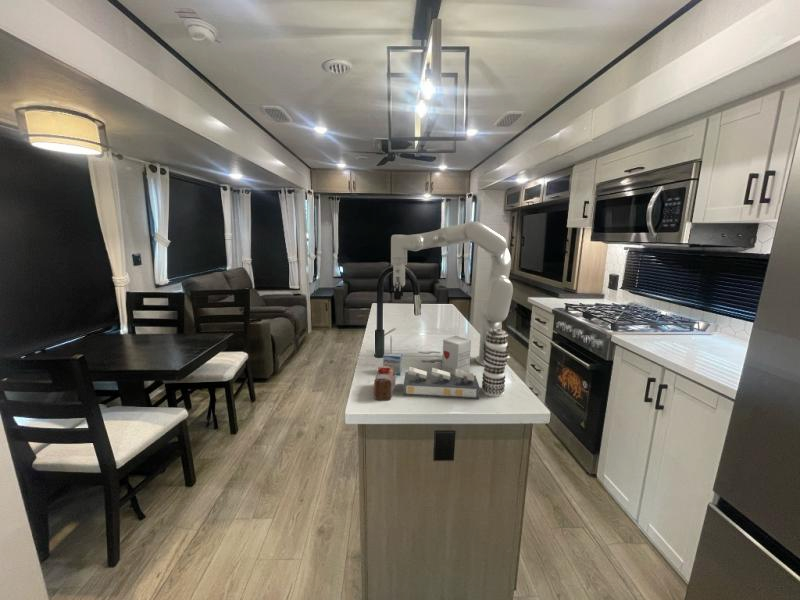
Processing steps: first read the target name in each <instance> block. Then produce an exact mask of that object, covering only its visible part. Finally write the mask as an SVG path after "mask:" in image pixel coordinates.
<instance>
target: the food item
mask: <svg viewBox="0 0 800 600" xmlns="http://www.w3.org/2000/svg"><path fill="white" fill-rule="evenodd" d="M396 378H397V375H396V372H395V371H393V368H391V367H388V366H383V365H382V366H378V367H377V370H376V373H375V378H374V382H373V385H374V387H373V388H374V389H373V393H374V398H375V400H378V401H391V400H392V396H393V394H394V388H395V385H396Z"/></svg>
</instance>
